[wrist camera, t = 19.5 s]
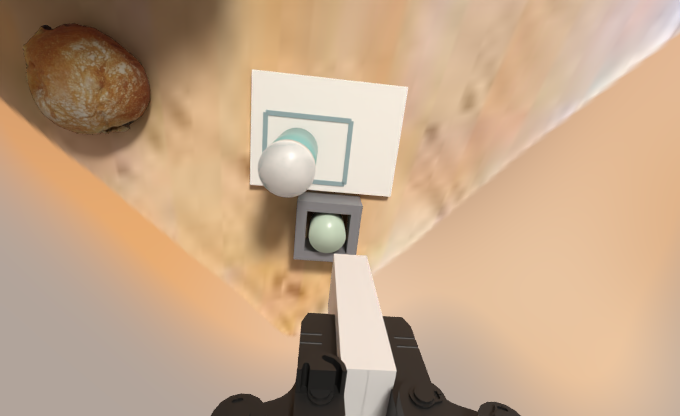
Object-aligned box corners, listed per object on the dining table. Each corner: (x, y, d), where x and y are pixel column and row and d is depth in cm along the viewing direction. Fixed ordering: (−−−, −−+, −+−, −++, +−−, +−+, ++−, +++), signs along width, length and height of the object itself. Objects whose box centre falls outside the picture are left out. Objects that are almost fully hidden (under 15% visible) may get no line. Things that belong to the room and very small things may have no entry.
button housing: (295, 245, 42) (293, 259, 38) (299, 191, 39) (297, 200, 36) (352, 249, 42) (354, 263, 39) (359, 196, 40) (362, 206, 37)
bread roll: (107, 131, 40) (90, 170, 34) (7, 55, 33) (-35, 87, 27) (172, 82, 38) (166, 114, 32) (82, -9, 31) (54, 11, 25)
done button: (308, 236, 41) (307, 251, 37) (311, 205, 40) (310, 217, 36) (341, 238, 41) (343, 254, 38) (345, 208, 40) (347, 220, 36)
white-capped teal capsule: (275, 164, 37) (255, 193, 27) (278, 123, 36) (259, 137, 26) (315, 170, 38) (311, 200, 28) (321, 129, 36) (318, 145, 26)
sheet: (251, 182, 39) (249, 184, 38) (253, 69, 35) (251, 69, 34) (389, 194, 40) (390, 197, 39) (406, 87, 36) (408, 87, 35)
